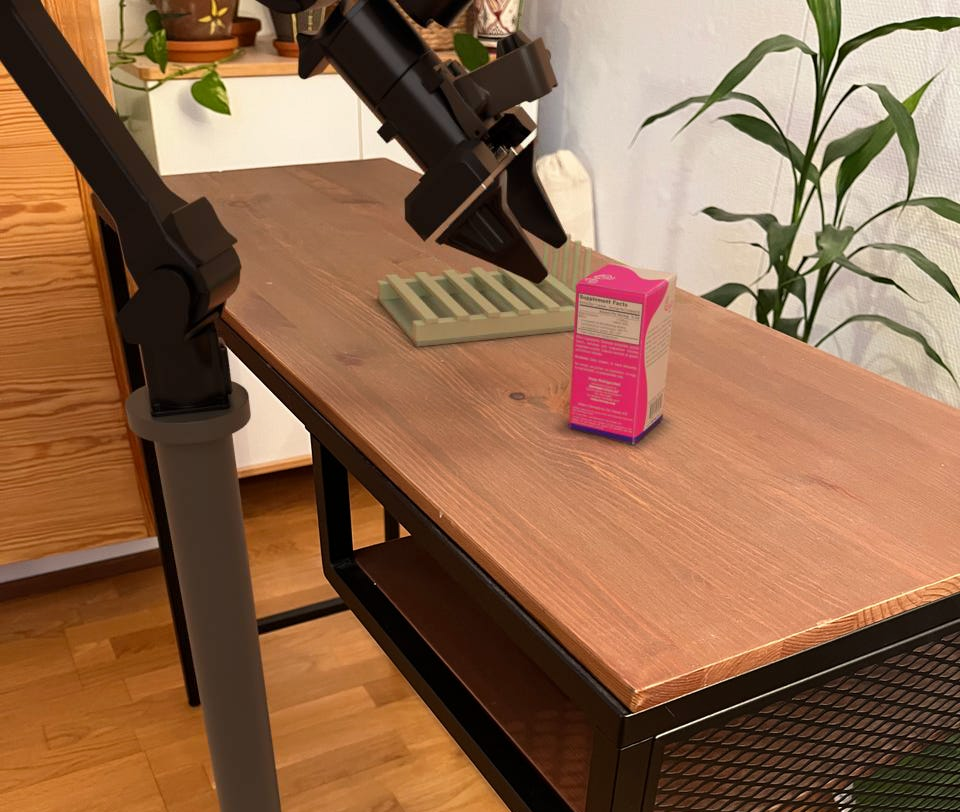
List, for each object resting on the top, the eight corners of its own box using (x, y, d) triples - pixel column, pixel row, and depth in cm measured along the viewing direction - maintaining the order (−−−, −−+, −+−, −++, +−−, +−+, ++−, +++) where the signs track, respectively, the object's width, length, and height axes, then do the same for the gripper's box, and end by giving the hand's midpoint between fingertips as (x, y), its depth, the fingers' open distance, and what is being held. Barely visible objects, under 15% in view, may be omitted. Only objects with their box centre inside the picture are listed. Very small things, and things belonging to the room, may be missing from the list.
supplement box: (596, 404, 84) (609, 260, 78) (664, 420, 82) (683, 273, 75) (564, 428, 80) (575, 279, 74) (634, 446, 78) (651, 293, 71)
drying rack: (416, 346, 94) (415, 268, 90) (377, 300, 105) (375, 228, 101) (596, 328, 99) (602, 253, 95) (541, 285, 110) (545, 216, 106)
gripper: (452, -4, 59) (627, 214, 63) (513, -22, 73) (651, 155, 78) (330, 140, 64) (498, 330, 69) (409, 96, 79) (543, 255, 84)
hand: (553, 261), depth 75 cm, fingers open, 9 cm apart
